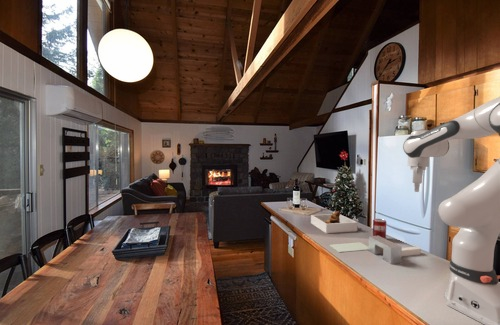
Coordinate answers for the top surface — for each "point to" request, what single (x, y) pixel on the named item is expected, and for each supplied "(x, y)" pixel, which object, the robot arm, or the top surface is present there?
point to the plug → (411, 251)
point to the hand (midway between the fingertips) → (416, 190)
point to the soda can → (379, 228)
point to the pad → (349, 247)
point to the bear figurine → (334, 218)
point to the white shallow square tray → (334, 224)
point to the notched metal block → (385, 249)
